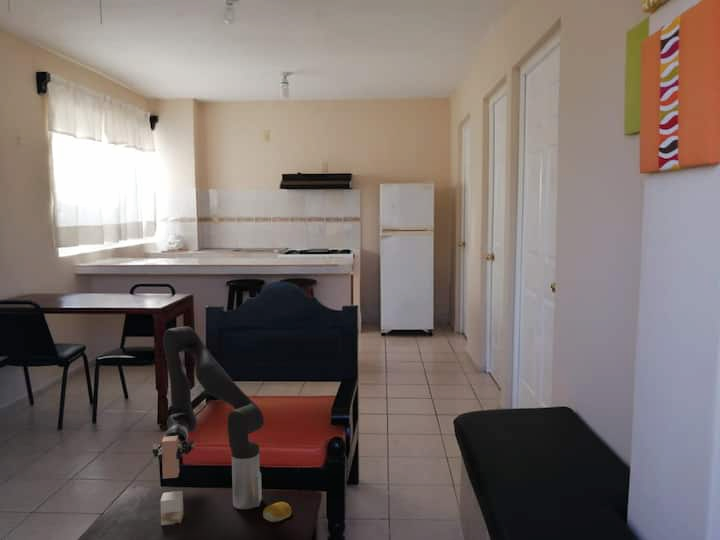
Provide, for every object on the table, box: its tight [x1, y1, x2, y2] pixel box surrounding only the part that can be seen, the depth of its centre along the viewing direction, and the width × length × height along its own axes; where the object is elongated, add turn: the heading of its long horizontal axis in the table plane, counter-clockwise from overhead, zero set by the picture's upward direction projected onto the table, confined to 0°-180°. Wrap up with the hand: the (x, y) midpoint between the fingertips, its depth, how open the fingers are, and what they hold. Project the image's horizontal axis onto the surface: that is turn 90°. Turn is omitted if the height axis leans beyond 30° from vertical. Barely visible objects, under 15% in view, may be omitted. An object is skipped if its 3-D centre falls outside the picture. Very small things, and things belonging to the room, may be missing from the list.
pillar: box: [161, 436, 180, 480], centre depth 181 cm, size 4×4×12 cm
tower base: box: [160, 503, 184, 526], centre depth 182 cm, size 6×6×4 cm
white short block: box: [159, 490, 184, 514], centre depth 182 cm, size 6×6×4 cm
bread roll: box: [262, 501, 292, 523], centre depth 184 cm, size 8×9×4 cm
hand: (169, 456), depth 178 cm, fingers closed on pillar, 4 cm apart
